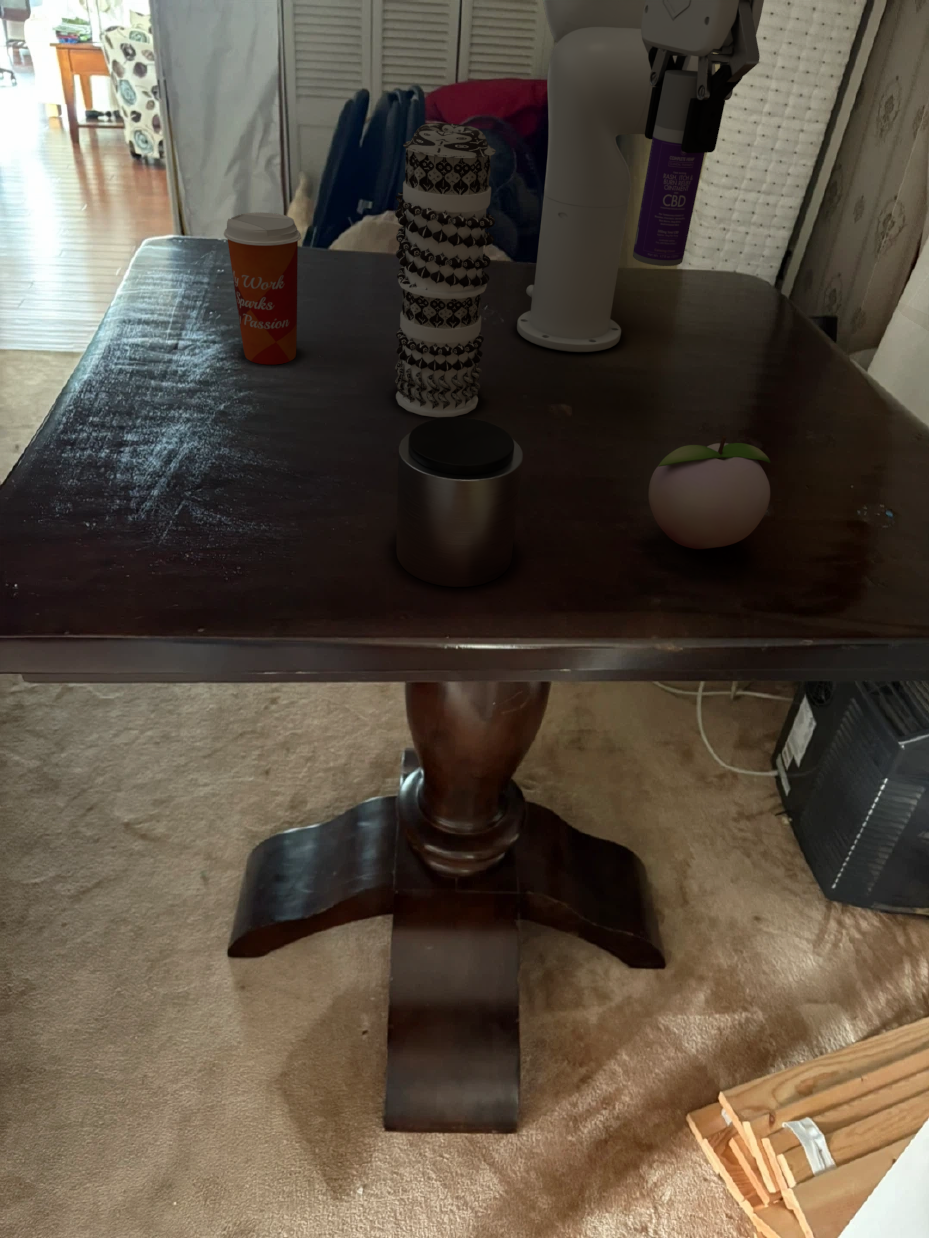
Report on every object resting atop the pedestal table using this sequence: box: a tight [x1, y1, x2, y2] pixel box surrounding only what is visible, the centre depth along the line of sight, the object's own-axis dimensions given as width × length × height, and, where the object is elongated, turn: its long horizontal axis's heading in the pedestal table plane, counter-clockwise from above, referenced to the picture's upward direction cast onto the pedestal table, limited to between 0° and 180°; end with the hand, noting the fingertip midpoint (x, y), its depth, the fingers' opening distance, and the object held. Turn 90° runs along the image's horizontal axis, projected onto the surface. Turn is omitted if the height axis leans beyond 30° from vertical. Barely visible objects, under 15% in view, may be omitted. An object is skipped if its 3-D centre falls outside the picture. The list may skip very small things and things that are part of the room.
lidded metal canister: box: [395, 416, 524, 588], centre depth 69 cm, size 9×9×10 cm
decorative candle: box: [394, 122, 497, 418], centre depth 87 cm, size 9×9×25 cm
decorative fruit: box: [647, 434, 771, 550], centre depth 71 cm, size 9×8×10 cm
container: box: [632, 70, 714, 267], centre depth 81 cm, size 5×5×15 cm
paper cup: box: [223, 211, 302, 366], centre depth 97 cm, size 8×8×14 cm
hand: (679, 142), depth 80 cm, fingers closed on container, 4 cm apart
